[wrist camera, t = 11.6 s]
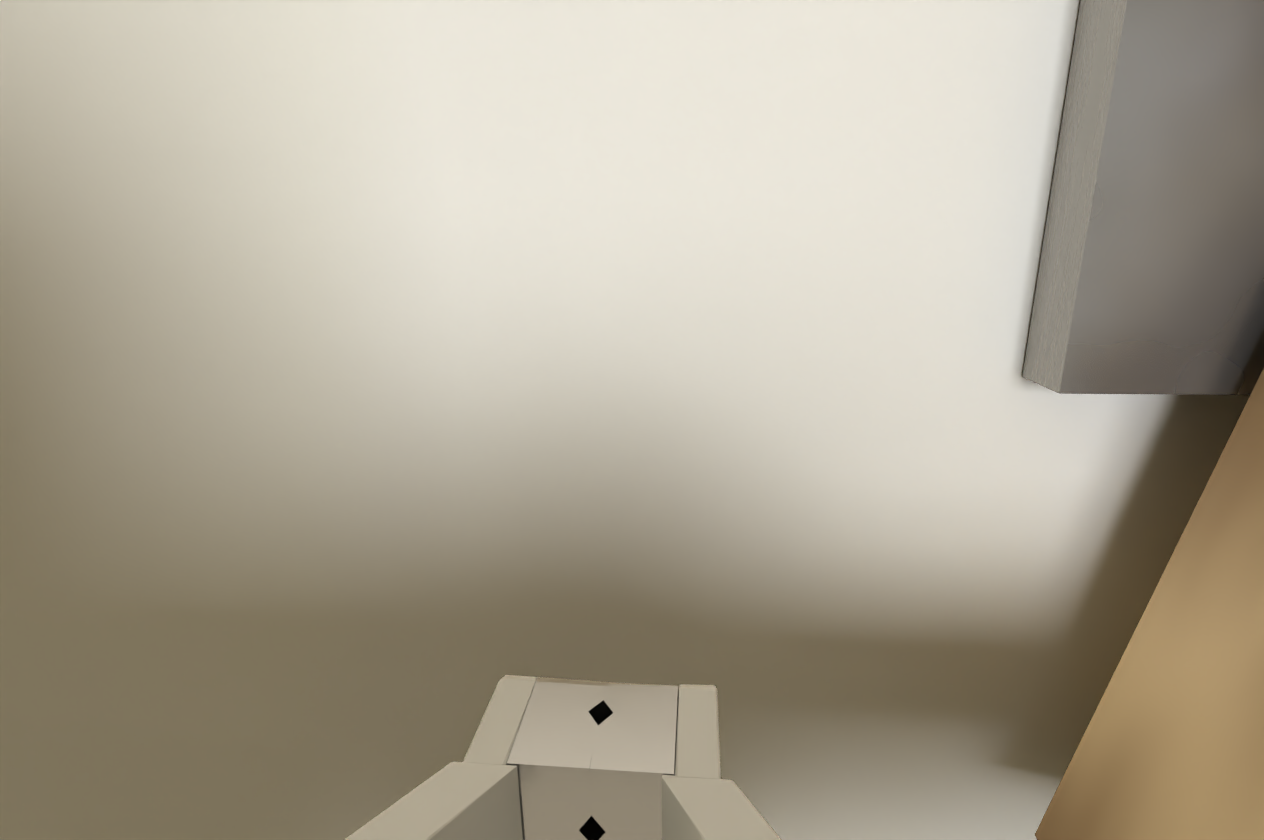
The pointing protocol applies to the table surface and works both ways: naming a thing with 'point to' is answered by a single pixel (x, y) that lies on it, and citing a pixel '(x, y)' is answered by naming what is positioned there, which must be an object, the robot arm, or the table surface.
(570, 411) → the table surface
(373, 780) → the table surface
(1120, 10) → the pin plate
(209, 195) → the table surface
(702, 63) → the table surface
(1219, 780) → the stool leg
